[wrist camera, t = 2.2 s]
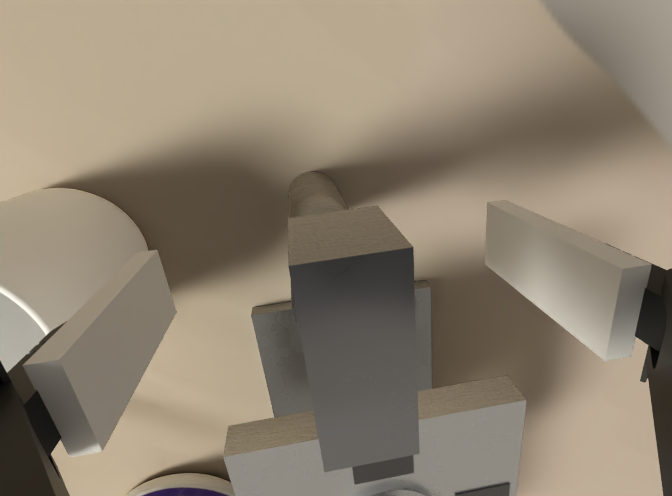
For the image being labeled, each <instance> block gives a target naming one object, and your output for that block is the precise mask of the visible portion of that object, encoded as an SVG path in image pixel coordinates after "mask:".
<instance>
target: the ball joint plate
mask: <svg viewBox="0 0 672 496" xmlns="http://www.w3.org/2000/svg"><path fill="white" fill-rule="evenodd" d="M414 290H415V321H416V353H417V385H418V417H419V448H420V454H416V455H411V456H406V457H401V458H396V459H391V460H385V461H380V462H375V463H370V464H365V465H360V466H355V467H350V468H345V469H339V470H334V471H329V472H324V467H323V462H322V456H321V450H320V444H319V438H318V433H317V427H316V421H315V415H314V410H313V404H312V398H311V392H310V386H309V381H308V375H307V369H306V363H305V357H304V352H303V346H302V340H301V334H300V328H299V327H298V325H297V324H296V322H295V319H294V317H293V313H292V301H291V302H285V303H279V304H272V305H266V306H260V307H254V308H252V314H251V317H252V321H253V325H254V330H255V334H256V338H257V343H258V347H259V352H260V356H261V360H262V365H263V369H264V374H265V378H266V382H267V387H268V391H269V395H270V400H271V404H272V409H273V413H274V417H275V418H269V419H264V420H258V421H253V422H247V423H242V424H236V425H231V426H228V432H227V437H226V443H225V449H224V455H223V458H224V461H225V465H226V468H227V471H228V474H229V477H230V481H231V484H232V487H233V490H234V493H235V496H516V491H517V482H518V473H519V464H520V455H521V447H522V438H523V429H524V420H525V411H526V403H527V400H526V398H525V397H524V396H523V395H522V393H521V392H520V391H519V390H518V388H517V387H516V386H515V385H514V383H513V382H512V381H511V380H510V378H509V377H508V376H507V375H505V376H500V377H494V378H489V379H483V380H478V381H472V382H467V383H461V384H456V385H450V386H445V387H439V388H434V389H432V352H431V287H430V285H429V284H428V283H427V281H426V280H423V281H417V282H414Z"/></svg>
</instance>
